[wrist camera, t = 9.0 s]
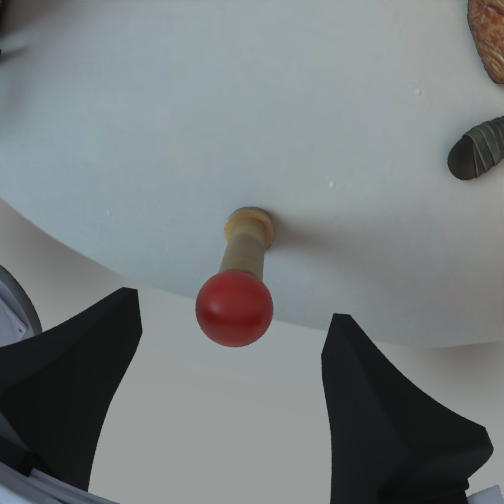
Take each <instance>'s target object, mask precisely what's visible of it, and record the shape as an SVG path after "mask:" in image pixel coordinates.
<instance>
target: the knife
mask: <svg viewBox="0 0 504 504" xmlns="http://www.w3.org/2000/svg"><path fill="white" fill-rule="evenodd" d="M503 158H504V116H502V117H497V118H495V119H493V120H491V121H486V122H483V123H482V124H480V125H478V126H475V127H473V128H472V129H471V130H470V131H468V132H467V133H465V134H464V135H463V136H462V138H461V139H460V140H459V141H458V142H457V143H456V144H455V145H454V147H453V148H452V149H451V151H450V153H449V155H448V167H449V169H450V171H451V173H452V174H453V175H454V176H455V177H456V178H458V179H460V180H470V179H473V178H477V177H479V176H480V175H481V174H483V173H484V172H487V171H488V170H490V169H491V168H492V167H493V166H495V165H497V164H498V163H499V162H500V161H501V159H503Z"/></svg>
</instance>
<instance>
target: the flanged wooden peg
mask: <svg viewBox="0 0 504 504" xmlns="http://www.w3.org/2000/svg"><path fill="white" fill-rule="evenodd" d="M224 234H225V239H226V241H227V243H228V245H227V248H226V252H225V255H224V258H223V261H222V264H221V267H220V270H219V273H220V272H223V271H228V270H240V271H245V272H248V273H250V274H252V275H254V276H256V277H257V278H259V279H260V280H261V281H262V280H263V267H264V253H265V250H267V249H268V248H269V247H270V245H271V243H272V241H273V239H274V225H273V222H272V220H271V218H270V217H269V216H268V215H267V214H266V213H265V212H264V211H262V210H260V209H258V208H254V207H244V208H241V209H238V210H236V211H235V212H233V213H232V214H231V215H230V217H229V218H228V220H227V222H226V225H225V230H224Z"/></svg>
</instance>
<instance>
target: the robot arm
mask: <svg viewBox="0 0 504 504" xmlns="http://www.w3.org/2000/svg"><path fill="white" fill-rule="evenodd" d="M26 331H27V327H26V325H25V324H24V323H23V322H22V321H21V320H20V319H19V318H18V316H17V315H16V314H15V313H14V312H13V311H12V310H11V309H10V308H9V307H8V305H7V304H6V303H5V302H4V301H3V300H2V299H1V297H0V504H119V503H116V502H113V501H110V500H107V499H104V498H101V497H99V496H96V495H93V494H91V493H88V486H89V480H90V475H91V469H92V464H93V459H94V455H95V451H96V447H97V443H98V439H99V436H100V432H101V429H102V425H103V423H104V419H105V417H106V413H107V411H108V408H109V405H110V402H111V400H112V398H113V396H114V394H115V392H116V390H117V388H118V386H119V384H120V382H121V380H122V378H123V376H124V374H125V372H126V370H127V368H128V366H129V364H130V362H131V360H132V358H133V356H134V354H135V352H136V349H137V346H138V344H139V341H140V338H141V335H142V324H141V317H140V309H139V300H138V291H137V289H132V288H126V287H122V288H120V289H118V290H116V291H115V292H113V293H111V294H110V295H108V296H107V297H105V298H104V299H102V300H100V301H99V302H97V303H96V304H94V305H92V306H91V307H89V308H88V309H86V310H84V311H83V312H81V313H79V314H77V315H76V316H74V317H72V318H70V319H69V320H67V321H65V322H63V323H61V324H59V325H58V326H56V327H54V328H52V329H49V330H47V331H45V332H43V333H40V334H38V335H36V336H33V337H30V338H27V339H24V340H22V341H21V339H22V337H23V336H24V334H25V333H26ZM321 360H322V380H323V386H324V392H325V398H326V404H327V410H328V416H329V423H330V430H331V445H332V448H331V449H332V477H331V478H332V479H331V499H330V504H504V500H503V497H502V494H501V491H500V487H499V485H495V486H493V487H490V488H487V489H485V490H482V491H479V492H477V493H474V494H472V495H471V496H468V497H466V494H465V490H467V489H468V488H469V483H468V480H467V479H468V478H469V477H470V476H471V475H472V474H474V473H475V472H476V471H477V470H478V469H479V468H480V467H482V466H483V464H485V463H486V462H487V461H488V459H489V458H490V456H491V455H492V453H493V445H492V443H491V440H490V438H489V436H488V433H487V431H486V429H485V427H483V426H481V425H479V424H477V423H475V422H473V421H470V420H468V419H466V418H464V417H462V416H460V415H458V414H456V413H455V412H453V411H451V410H450V409H448V408H446V407H445V406H443V405H441V404H440V403H438V402H437V401H435V400H434V399H433V398H431V397H430V396H428V395H427V394H426V393H424V392H423V391H422V390H420V389H419V388H418V387H417V386H415V385H414V384H413V383H412V382H411V381H410V380H409V379H407V378H406V377H405V376H404V375H403V374H402V373H401V372H400V371H399V370H398V369H397V368H396V367H395V366H394V365H393V364H392V363H391V362H390V361H389V360H388V359H387V358H386V357H385V356H384V355H383V354H382V352H381V351H380V350H379V349H378V348H377V347H376V346H375V344H374V343H373V342H372V341H371V340H370V339H369V337H368V336H367V335H366V334H365V332H364V331H363V330H362V329H361V328H360V326H359V325H358V324H357V323H356V321H355V320H354V319H353V318H352V317H351V316H350V315H349V314H336V313H334V314H333V317H332V321H331V324H330V328H329V331H328V334H327V338H326V341H325V344H324V348H323V351H322V354H321Z"/></svg>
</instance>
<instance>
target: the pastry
mask: <svg viewBox="0 0 504 504" xmlns="http://www.w3.org/2000/svg"><path fill="white" fill-rule="evenodd" d="M467 19H468V23H469V27H470V30H471V33H472V35H473V39H474V41H475V43H476V48H477V51H478V54H479V56H480V57H481V60H482V62H483V64H484V68H485V70H486V71H487V72H488V75H489V76H490V78H491V79H492V81H493V82H494V83H497V84H504V0H468V14H467Z"/></svg>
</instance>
